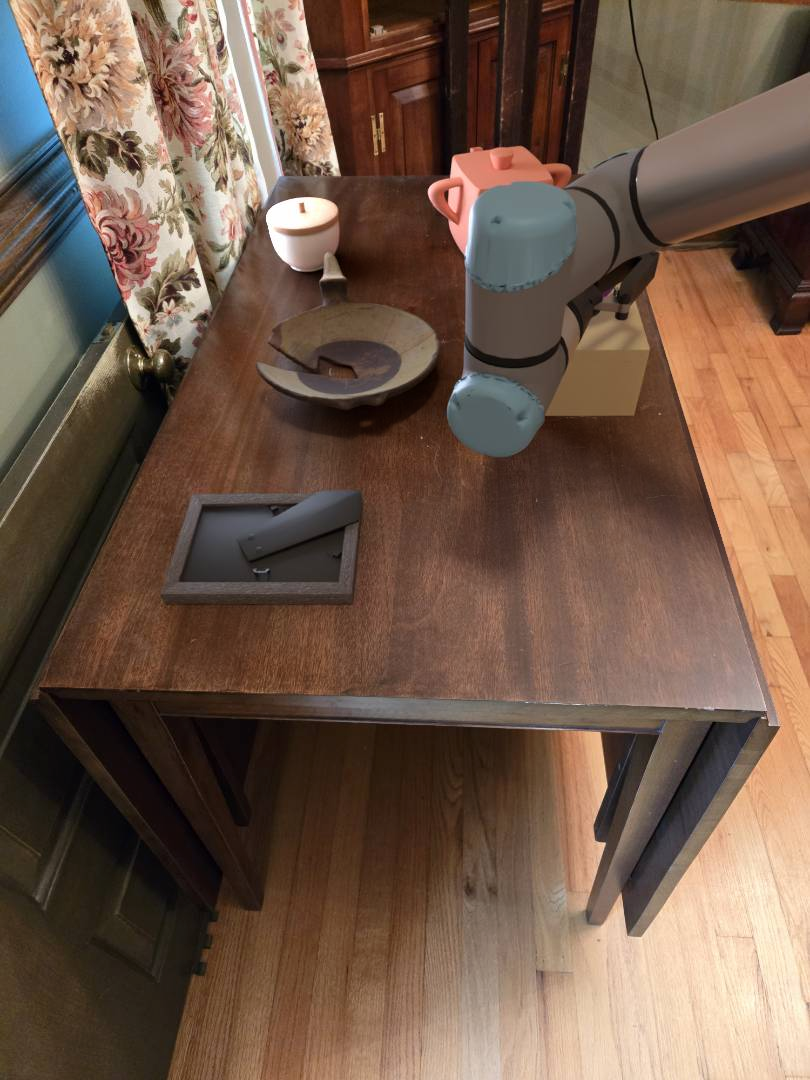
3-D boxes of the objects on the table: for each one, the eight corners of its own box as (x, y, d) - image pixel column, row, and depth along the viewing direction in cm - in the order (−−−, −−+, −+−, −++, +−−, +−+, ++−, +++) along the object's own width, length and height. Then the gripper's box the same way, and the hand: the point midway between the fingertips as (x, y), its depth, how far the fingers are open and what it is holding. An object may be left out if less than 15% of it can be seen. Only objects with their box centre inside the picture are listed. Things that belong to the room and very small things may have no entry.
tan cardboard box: (615, 339, 95) (630, 263, 87) (634, 416, 85) (653, 337, 77) (511, 340, 96) (517, 264, 88) (517, 416, 85) (524, 338, 78)
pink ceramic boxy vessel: (581, 256, 110) (595, 159, 100) (442, 278, 108) (441, 181, 97) (536, 202, 123) (544, 112, 113) (410, 221, 121) (407, 130, 110)
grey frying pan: (237, 432, 86) (222, 378, 80) (305, 300, 105) (296, 249, 99) (424, 448, 82) (422, 393, 77) (457, 308, 102) (458, 256, 96)
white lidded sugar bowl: (301, 287, 108) (291, 224, 101) (261, 262, 113) (249, 201, 106) (357, 261, 112) (351, 200, 105) (316, 239, 118) (308, 179, 111)
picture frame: (363, 503, 77) (196, 504, 78) (361, 489, 75) (191, 491, 76) (352, 604, 68) (164, 604, 69) (350, 591, 66) (158, 591, 67)
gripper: (436, 342, 73) (507, 241, 86) (647, 385, 66) (688, 269, 80) (435, 271, 67) (511, 175, 81) (666, 311, 61) (706, 200, 74)
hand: (599, 222), depth 80 cm, fingers closed on decorative egg, 8 cm apart
